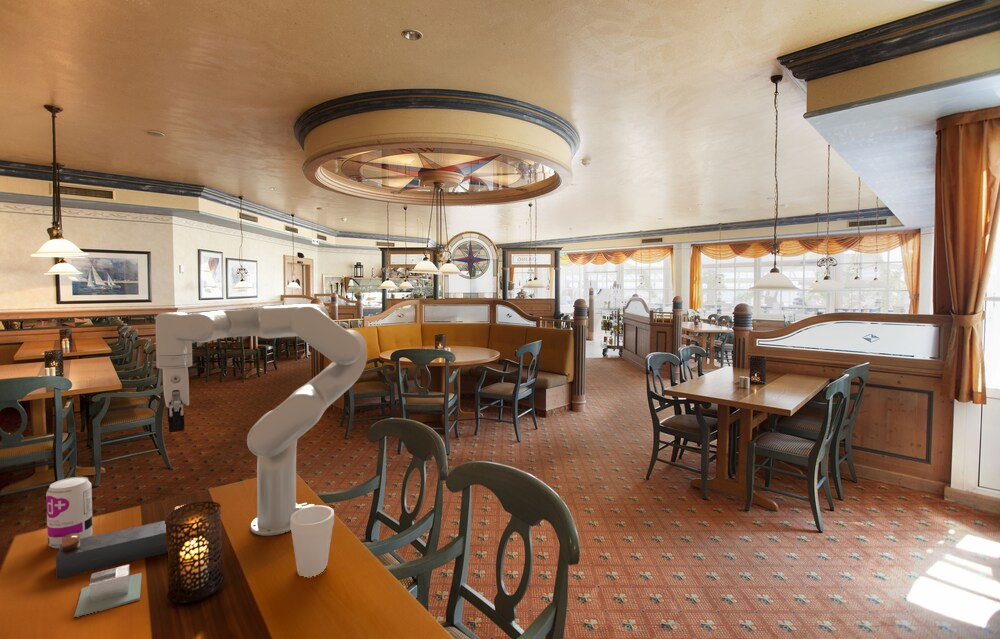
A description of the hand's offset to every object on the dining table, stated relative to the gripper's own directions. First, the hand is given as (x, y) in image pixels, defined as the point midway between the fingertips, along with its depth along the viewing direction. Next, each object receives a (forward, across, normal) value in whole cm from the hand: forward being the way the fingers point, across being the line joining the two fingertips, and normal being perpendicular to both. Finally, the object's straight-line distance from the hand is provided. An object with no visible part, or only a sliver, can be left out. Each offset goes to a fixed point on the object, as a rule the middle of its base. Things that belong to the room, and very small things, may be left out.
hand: (175, 426), depth 120 cm
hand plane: (+28, -6, +10) cm, 30 cm away
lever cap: (+28, -22, +12) cm, 37 cm away
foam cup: (+28, -36, -24) cm, 52 cm away
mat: (+28, -22, +12) cm, 38 cm away
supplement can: (+28, +9, +22) cm, 37 cm away
